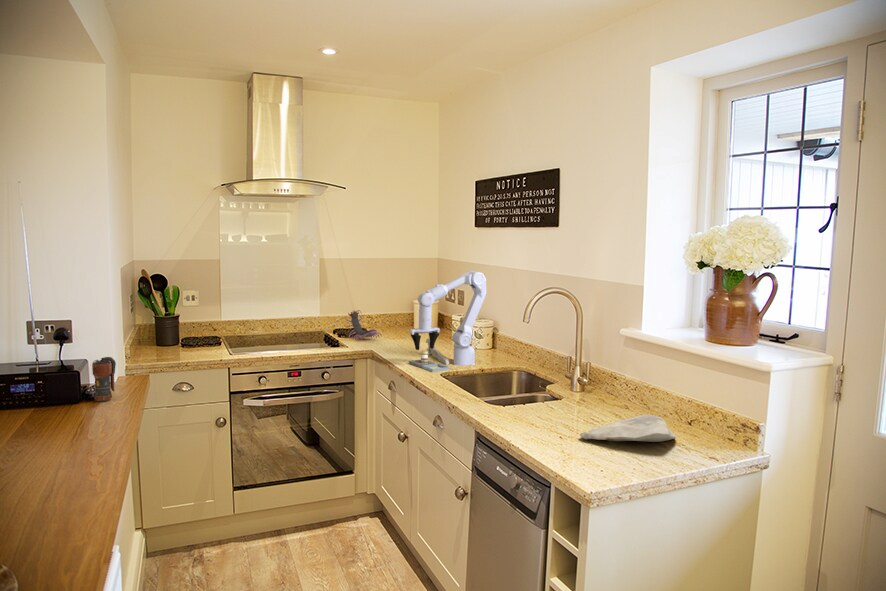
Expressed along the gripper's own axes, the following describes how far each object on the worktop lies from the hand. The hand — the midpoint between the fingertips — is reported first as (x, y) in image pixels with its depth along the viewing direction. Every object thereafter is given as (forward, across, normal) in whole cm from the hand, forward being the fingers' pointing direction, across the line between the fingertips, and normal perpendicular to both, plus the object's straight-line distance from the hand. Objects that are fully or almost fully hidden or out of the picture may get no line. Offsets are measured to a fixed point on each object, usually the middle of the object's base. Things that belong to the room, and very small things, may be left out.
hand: (424, 349), depth 274 cm
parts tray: (+8, -1, +8) cm, 12 cm away
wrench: (+9, -14, -11) cm, 20 cm away
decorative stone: (+9, -5, +110) cm, 110 cm away
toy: (+9, -7, -76) cm, 77 cm away
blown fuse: (+8, 0, 0) cm, 8 cm away
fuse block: (+8, 0, -2) cm, 9 cm away
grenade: (+9, +126, -10) cm, 127 cm away
